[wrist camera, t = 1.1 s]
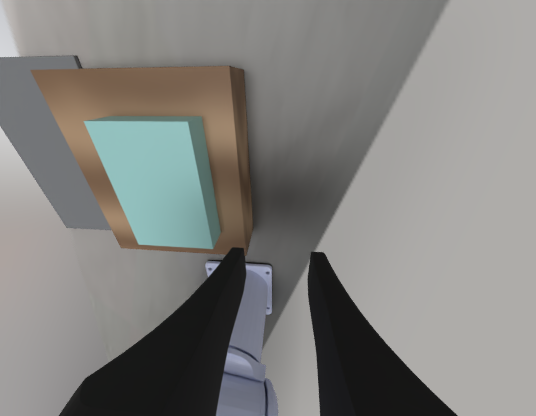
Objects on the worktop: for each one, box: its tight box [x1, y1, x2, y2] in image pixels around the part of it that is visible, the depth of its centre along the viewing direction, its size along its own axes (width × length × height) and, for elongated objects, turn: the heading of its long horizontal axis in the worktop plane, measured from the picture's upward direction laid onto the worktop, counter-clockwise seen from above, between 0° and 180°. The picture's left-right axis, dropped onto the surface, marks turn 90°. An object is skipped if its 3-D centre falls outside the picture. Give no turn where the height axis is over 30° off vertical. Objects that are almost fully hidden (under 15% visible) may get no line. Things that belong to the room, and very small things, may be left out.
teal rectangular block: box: [84, 116, 221, 249], centre depth 14 cm, size 9×6×2 cm, turn 1°
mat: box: [0, 56, 112, 230], centre depth 19 cm, size 16×10×1 cm, turn 1°
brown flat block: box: [30, 66, 253, 256], centre depth 17 cm, size 14×12×4 cm
